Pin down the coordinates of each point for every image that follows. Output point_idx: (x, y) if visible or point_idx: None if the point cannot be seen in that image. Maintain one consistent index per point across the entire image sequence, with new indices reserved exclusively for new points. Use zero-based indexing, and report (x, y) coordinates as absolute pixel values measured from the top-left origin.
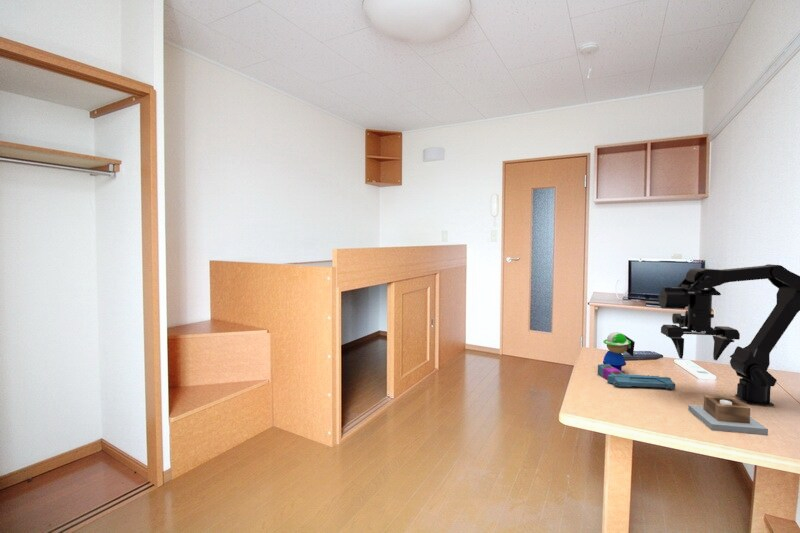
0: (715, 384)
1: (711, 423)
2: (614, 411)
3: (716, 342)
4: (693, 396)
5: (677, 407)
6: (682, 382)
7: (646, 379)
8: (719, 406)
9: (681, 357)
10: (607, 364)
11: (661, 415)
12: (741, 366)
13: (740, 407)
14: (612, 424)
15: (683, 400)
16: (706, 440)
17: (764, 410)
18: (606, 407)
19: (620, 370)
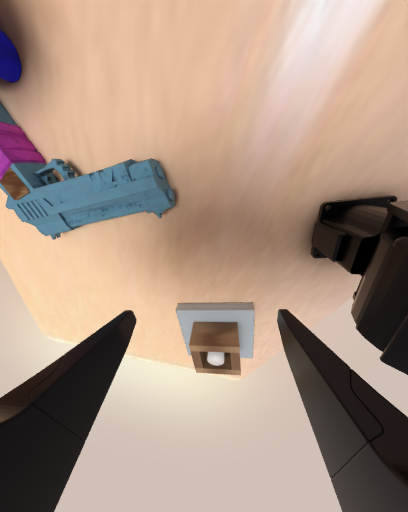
0: (344, 69)
1: (188, 354)
2: (86, 323)
3: (368, 479)
4: (207, 237)
5: (164, 297)
6: (218, 99)
7: (97, 204)
8: (197, 371)
9: (130, 328)
10: None
11: (139, 324)
12: (370, 328)
13: (226, 373)
14: None
15: (180, 265)
16: (177, 363)
17: (320, 278)
18: (74, 315)
19: (2, 65)
